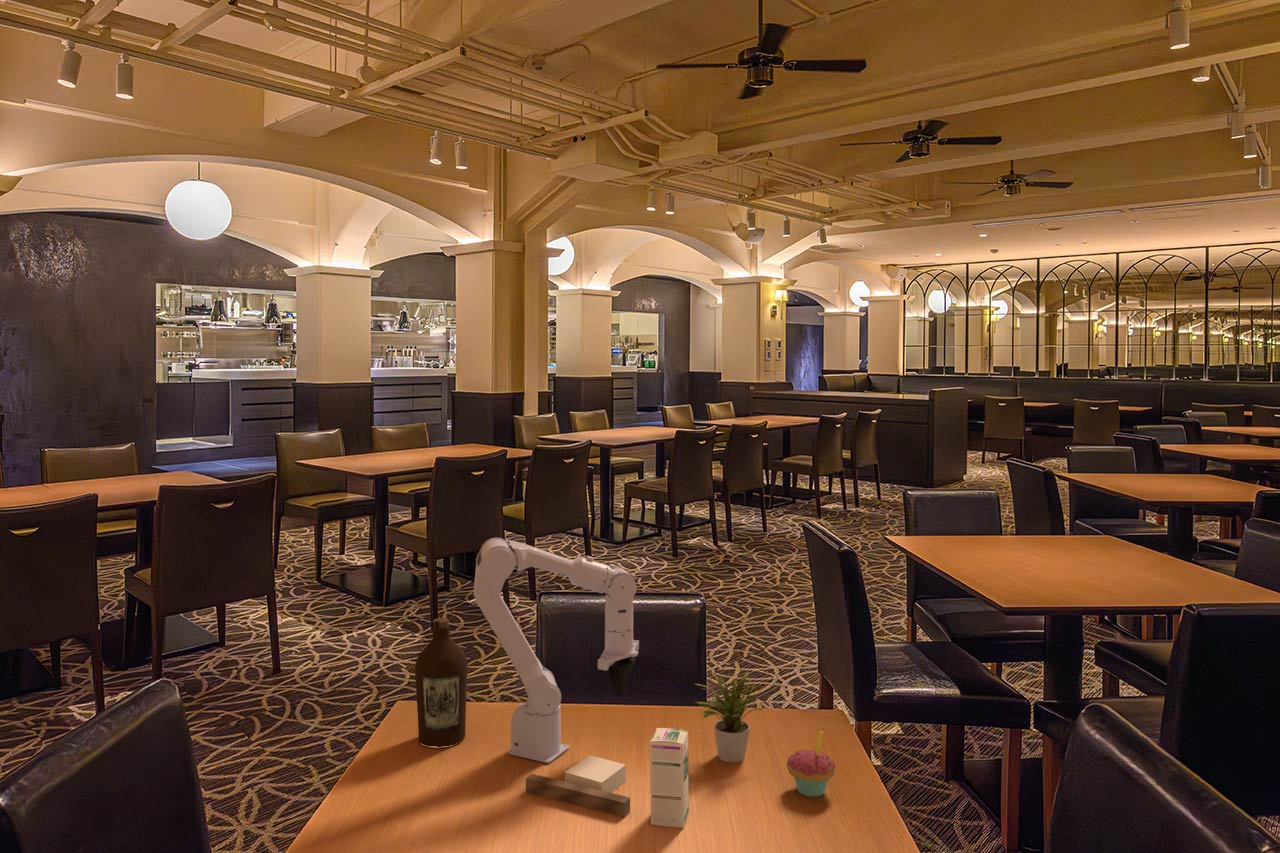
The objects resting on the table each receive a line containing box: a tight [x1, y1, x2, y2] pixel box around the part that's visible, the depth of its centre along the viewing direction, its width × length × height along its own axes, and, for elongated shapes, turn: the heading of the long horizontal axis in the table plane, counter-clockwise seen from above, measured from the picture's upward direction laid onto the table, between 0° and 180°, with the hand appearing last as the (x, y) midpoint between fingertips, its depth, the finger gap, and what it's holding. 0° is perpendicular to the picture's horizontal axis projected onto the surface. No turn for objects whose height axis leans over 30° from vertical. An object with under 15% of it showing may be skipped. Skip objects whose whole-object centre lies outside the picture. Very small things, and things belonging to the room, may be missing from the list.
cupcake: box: [786, 727, 836, 798], centre depth 149 cm, size 9×8×12 cm
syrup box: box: [649, 727, 690, 829], centre depth 140 cm, size 6×6×14 cm
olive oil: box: [414, 617, 469, 747], centre depth 171 cm, size 11×11×25 cm
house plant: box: [695, 671, 765, 764], centre depth 164 cm, size 14×14×16 cm
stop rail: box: [525, 773, 631, 818], centre depth 146 cm, size 20×2×2 cm, turn 64°
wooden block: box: [564, 754, 627, 793], centre depth 152 cm, size 8×8×4 cm
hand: (619, 694), depth 168 cm, fingers closed
